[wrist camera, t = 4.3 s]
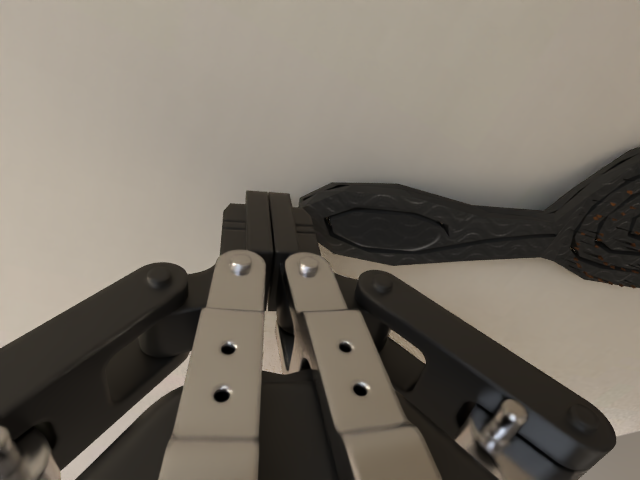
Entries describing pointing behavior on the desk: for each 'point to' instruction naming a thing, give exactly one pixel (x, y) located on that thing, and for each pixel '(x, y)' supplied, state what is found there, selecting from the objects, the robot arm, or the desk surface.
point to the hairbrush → (489, 225)
